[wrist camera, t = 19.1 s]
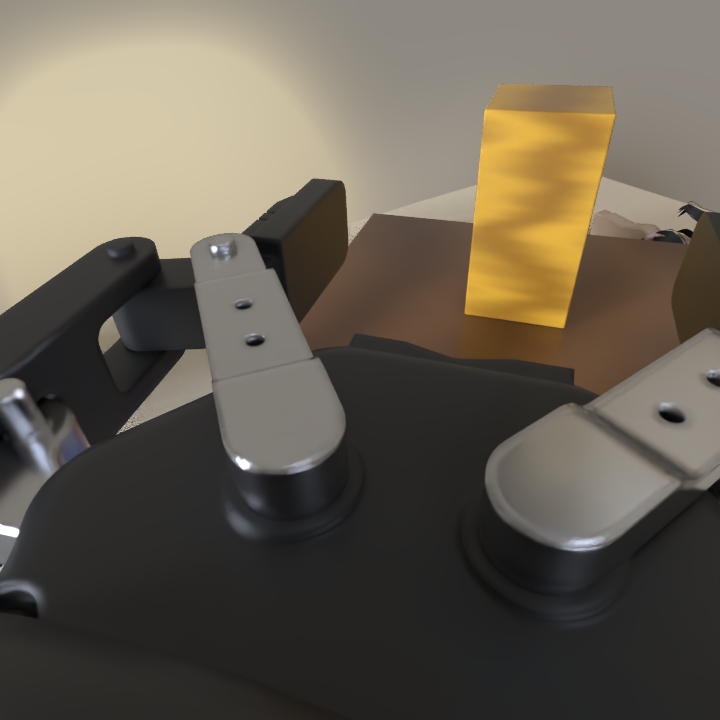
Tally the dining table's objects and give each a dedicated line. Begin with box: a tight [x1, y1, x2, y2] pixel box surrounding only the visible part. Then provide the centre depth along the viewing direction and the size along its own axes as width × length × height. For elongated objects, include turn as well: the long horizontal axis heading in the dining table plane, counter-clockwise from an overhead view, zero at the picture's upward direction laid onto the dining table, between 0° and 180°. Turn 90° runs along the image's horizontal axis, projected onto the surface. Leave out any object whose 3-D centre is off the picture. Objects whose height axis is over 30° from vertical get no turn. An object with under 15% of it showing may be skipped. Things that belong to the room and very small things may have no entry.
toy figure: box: [590, 204, 716, 244], centre depth 46 cm, size 7×6×15 cm
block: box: [465, 84, 616, 328], centre depth 26 cm, size 5×5×10 cm
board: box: [299, 214, 689, 396], centre depth 29 cm, size 22×18×2 cm
